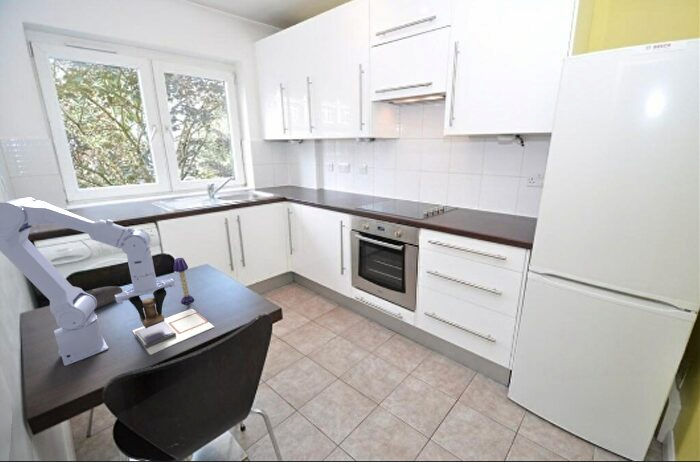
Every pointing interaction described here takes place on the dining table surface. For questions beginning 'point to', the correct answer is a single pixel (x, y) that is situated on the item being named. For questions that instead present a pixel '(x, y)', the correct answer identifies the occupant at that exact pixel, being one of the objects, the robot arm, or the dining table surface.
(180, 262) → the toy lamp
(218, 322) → the dining table surface
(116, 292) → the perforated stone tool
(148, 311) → the stamp
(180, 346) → the dining table surface
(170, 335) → the ink pad
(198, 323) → the paper sheet
